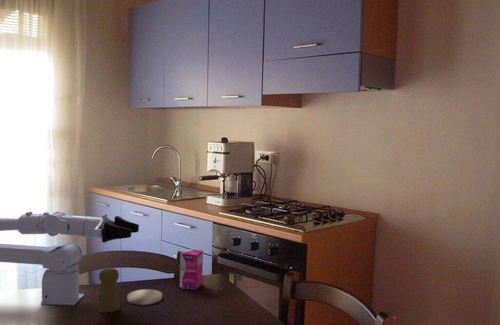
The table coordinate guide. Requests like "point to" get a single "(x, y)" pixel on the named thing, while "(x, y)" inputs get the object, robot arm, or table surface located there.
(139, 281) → the table surface
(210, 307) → the table surface
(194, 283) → the supplement box
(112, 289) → the cork
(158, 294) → the coaster
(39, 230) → the robot arm
